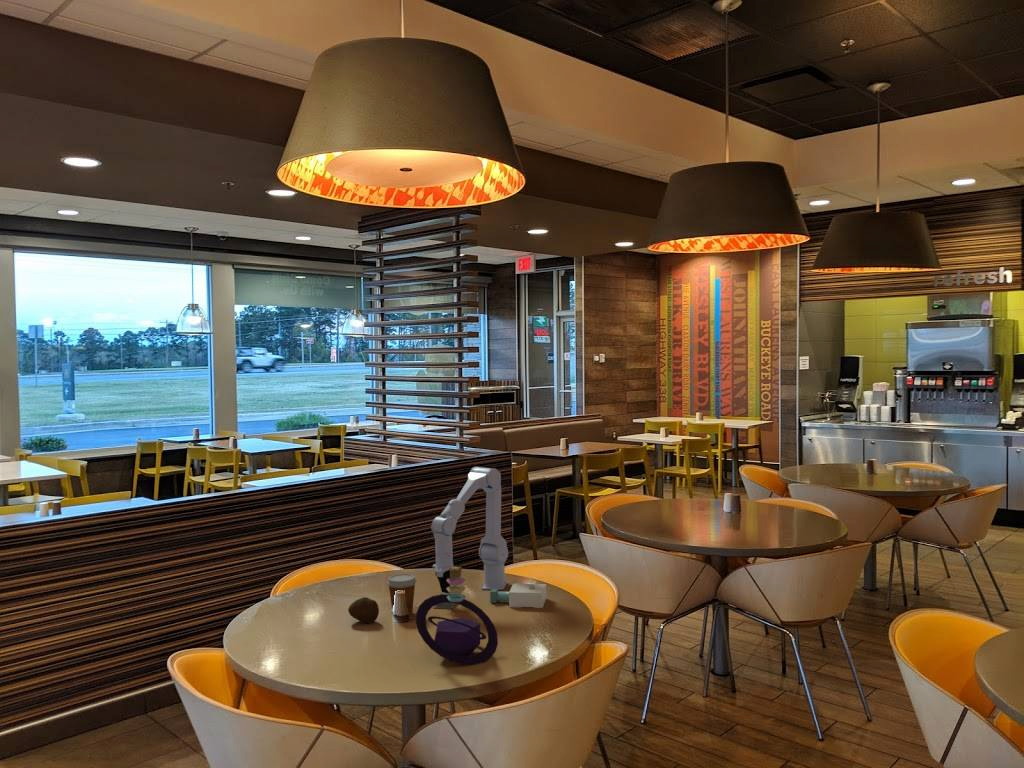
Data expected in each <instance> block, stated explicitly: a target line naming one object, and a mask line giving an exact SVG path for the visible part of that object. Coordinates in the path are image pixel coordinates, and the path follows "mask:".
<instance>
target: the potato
mask: <svg viewBox="0 0 1024 768" xmlns="http://www.w3.org/2000/svg"><path fill="white" fill-rule="evenodd" d="M347 611H348V614H349V615H350V616H351V618H353V619H355V620H356V621H359V622H361V623H364V624H365V623H366V624H372V623H374V622H376V620H377V619H378V617H379V613H380V607H379V605H378V603H377V601H376V600H374V599H372V598H369V597H367V596H365V597H364V596H363V597H360V598H359V599H357V600H356V599H355V600H354V601H353V602H352V603H351V604H350V605H349V606H348V610H347Z"/></svg>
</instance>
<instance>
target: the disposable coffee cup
mask: <svg viewBox="0 0 1024 768" xmlns="http://www.w3.org/2000/svg"><path fill="white" fill-rule="evenodd" d="M416 582H417V579H416V576H415V575H413V574H410V573H397V574H396V573H395V574H394V575H393V574H392V575H391V576H389V577H388V578H387V582H386V583H387V586H388V591H389V596H390V601H391V608H392V609H391V610H392V611H393V605H394V595H395V591H397V590H403V591H404V590H405V593H406V599H407V608H408V613H409V615H408V616H411V615H412V614H413V610H414V609H413V608H414V601H415V600H414V597H415V589H416V588H415V586H416Z"/></svg>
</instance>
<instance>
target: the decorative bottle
mask: <svg viewBox="0 0 1024 768" xmlns="http://www.w3.org/2000/svg"><path fill="white" fill-rule="evenodd" d="M462 569H463V568H462V567H461V566H454V567H450V568H449V571H450V577H451V578H448V579H447V580H446V581H447V582H448V583H449V584H450V587H447V590H448V591H449V593H450V594H452V595H440V594H437V595H432V596H430V597H428V598H426V599H424V600H423V601H422V602H421V603H420V604H419V606H418V608H417V610H416V613H415V625H416V627H417V631H418V633H419V635H420V637H421V639H422V641H424V643H425V645H427V647H429V648H430V650H432V651H433V652H434V653H436V654H437V655H438V656H439V657H441V658H443V659H446V660H448V661H449V662H452V663H456V664H460V665H466V666H467V665H468V666H470V665H472V666H475V665H478V664H479V665H480V664H483V663H485V662H487V661H489V660H490V659H491V658H492V657H493V655H494V654H495V653H496V651H497V648H498V645H499V639H498V632H497V629H496V627H495V624H494V623H493V622H492V620H491V619H490V617H489V616H488V615H487V614H486V612H485V611H483V609H482V608H480V607H479V606H477V605H476V604H475V603H473V602H472V601H469V600H467V599H466V597H467V596H466V595H465V594H463V592H464V591H465V590H466V587H465V586H464V585H461V584H463V583H464V582H465V581H466V578H464V577H462ZM454 589H456V590H454ZM455 593H456V594H455ZM457 593H460V594H457ZM445 602H446V603H455V605H459V606H461V607H464V608H467V609H468V610H470V611H471V612H472V613H474V614H475V616H477V617H478V619H480V620H481V622H482V623H483V625H484V626H485V629H486V632H487V635H486V634H485V633H483V631H481V623H480V622H477V621H473V620H471V619H469V618H466V617H464V616H462V617H457V618H451V619H450V618H447V617H443V616H442V617H441V616H435V615H434V616H433V615H432V616H428V614H429V611H430V610H431V609H433V607H434V606H435V605H437V604H440V603H445ZM453 613H454V616H455V614H456V613H455V612H453ZM469 613H470V612H468V614H469ZM427 616H428V617H427ZM435 619H436V620H439V621H437V623H436V622H434V620H435ZM427 621H428V622H430V623H431V624H432V625H434V626H435V627H436V629H435V635H434V638H433V637H432V635H431V634H430V632H429V631H428V627H427ZM486 639H487V643H486V645H485V647H484V648H483V649H482V650H481V651H480V652H478V653H477V654H473V653H474V652H475V651H476V649H477V648H478V647H479V646H480V645H481V641H483V640H486Z"/></svg>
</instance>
